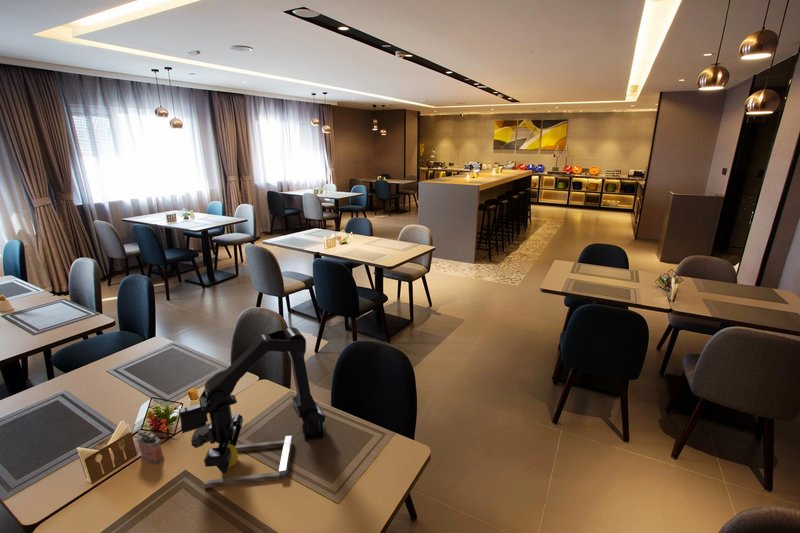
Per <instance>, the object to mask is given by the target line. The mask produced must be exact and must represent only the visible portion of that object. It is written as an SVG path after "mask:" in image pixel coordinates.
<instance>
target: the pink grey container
mask: <svg viewBox="0 0 800 533" xmlns="http://www.w3.org/2000/svg"><path fill="white" fill-rule="evenodd" d="M137 435H138V436H137V438H136V441H137V443H138V447H139V449H140V450H139V451H140V453H141V455H140V458H141V460H142V461H144V462H146V463H147V464H148V463H149V464H154V465H159V464H162V463H163V462H164V461H165V456H164V454H163V450H162V447H161V446H162V445H161V439H160V438H159V437H158V436H156V434H154V433H152V431H149V430H148V431H145V430H141V429H140V430H138V431H137Z"/></svg>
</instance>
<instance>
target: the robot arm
mask: <svg viewBox="0 0 800 533" xmlns="http://www.w3.org/2000/svg"><path fill="white" fill-rule="evenodd" d="M306 339H307V338H305V337H304V335H303V334H302V332H301V331H300V330H299V329H298V328H297V327H295V326H290V327H288V328H286V329H278V330H275V331H273V332H270V333H263V334H260V335H259V336H258V338H257V339H256V340H255V341H254V342H253V343H252V344H251V345H250V346H249V347H247V349H246V350H245V351H244V352H243V353H242V354H241V355H240V356H239V357H238V358H237V359H235V360H234V362H233V363H232V364H231V365H230V366H228V367H227V368H226V369H223V370H222V371H220V372H216V374H214V375H213V376H212V377H210V378H209V379H207V380H206V381H205V384H204V389H203V391H202V393H201V395H200V396H199V397H198V398H199V399H198V401H199V403H198V404H194V405H191V406H187V407H182V408H179V410H178V415H179V422H180V423H179V424H180V429H181V433H182V434H186V433H188V432H191V431H194V432H193V434H192V436H191V440H190V442H191V447H193V448H195V449H198V448H201V447H202V446H204V444H207V443H208V442H209V444H218V447H212V448H209V449H208V450H207V452H206V454H205V457H204V459H203V462H204V467H206V468H207V467H217V468H218V470H219V471H220V472H221V473H222V474H223V475H225V474H227V472H228V469H229V468H228V466H229V462H230V459H231V449H230V448H228V445H229V444H232V445H234V446H235V447H236V445H237V443H238V439H239V437H240V433H241V430H242V426H243V422H244V418H243V415H242V414H240V413H236V414H232V409H231V408H232V407H231V405H232V406H233V405H235V404H237V403H238V400H237V398H236V395H235V394H232V393H233V392H234V390H235V388H236V386H237V384H238V382H240V380H241V379H242V378H243V377H244V376H245V375H246V374H247V373H248V371H250V370H251V369H252V368H253V367H254V366H255V365H257V363H258V362H259V361H260V360H261V359H262V358H263V357H264V356H266V354H267V353H269V352H280V353H288V354H287V355H288V356H289V359H290V364H291V369H292V375H293V381H294V384H295V390H296V395H295V396H294V397H292V398H291V401H292V403H293V406H292V408H293V409H294V411H295V413H296V414H297V417H298V418H299V419H300V418H301V420H302V423H301V424H302V425H301V426H302V427H301V428H302V435H304V436H303V439H304V441H308V440H309V441H311V440H317V439H324V437H325V428H326V427H325V426H326V425H325V421H326V415H325V413H324V412H323V410H322V409H321V407H320V406H319V404H318V403H317V402H316V401H315V400H314V398H313V396H312V394H311V389H310V383H309V379H308V378H309V377H308V376H309V375H308V372H307V367H306V362H305V355H306V351H307V340H306ZM207 414H208V415H209V419H210V423H208V422H209V420H208V415H207Z"/></svg>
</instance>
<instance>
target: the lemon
mask: <svg viewBox="0 0 800 533" xmlns="http://www.w3.org/2000/svg"><path fill="white" fill-rule="evenodd" d="M228 448H230V449H231V459H230V462H229V466H228V469H229V468H231V467H233V466H234V465H235V464H236V463H237V461H238V458H239V453H238V452H239V451H238V452H237V449H236V448H235V446H234V445H232V444H229V445H228Z"/></svg>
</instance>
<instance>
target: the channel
mask: <svg viewBox="0 0 800 533" xmlns="http://www.w3.org/2000/svg"><path fill="white" fill-rule="evenodd" d="M284 437H285V438H284V439H283V440H273V441H265V442H262V441H261V442H256V443H255V442H254V443H253V442H252V443H246V444H245V443H244V444H236V447H235V448H236V449H237V452H246V451H253V450H254V451H256V450H265V449H273V448H275V449H276V448H281V447H282V452H281V457H280V462H279V467H278V468H279V469H278V471H276V472H267V473H260V474H259V473H257V474H250V475H248V474H247V475H242V476H241V475H240V476H233V477H225V478H224V477H223V478H216V479H215V478H214V479H207V480H204V482H203V486H204V489H207V488H208V489H209V488H215V487H223V486H224V487H225V486H226V487H227V486H232V485H240V484H251V483H258V482H259V483H260V482H265V481H275V480H276V481H277V480H284V479H287V478H288V473H289V467H290V461H291V456H292V455H291V454H292V447H293V435H286V436H284Z"/></svg>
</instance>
